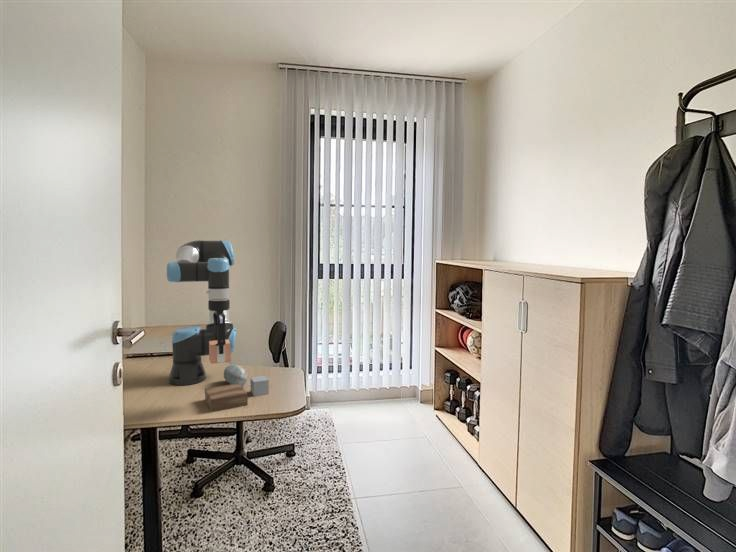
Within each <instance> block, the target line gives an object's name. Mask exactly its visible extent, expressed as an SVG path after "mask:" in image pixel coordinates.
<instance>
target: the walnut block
mask: <svg viewBox="0 0 736 552" xmlns="http://www.w3.org/2000/svg"><path fill="white" fill-rule="evenodd" d="M248 397H249V396H248V392H247V391H246V390H245V388H243V386H241V385H240V384H239V383H236V384H225V385H219V386H212V387H207V388H206V387H205V388H204V400H205V403H206V404H207V407H208V408H209V410H210V411H211V412H212V413H215V412H218V411H219V412H220V411H224V410H229V409H235V408H239V407H246V406H248V404H249V403H248V400H249V399H248Z"/></svg>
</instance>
